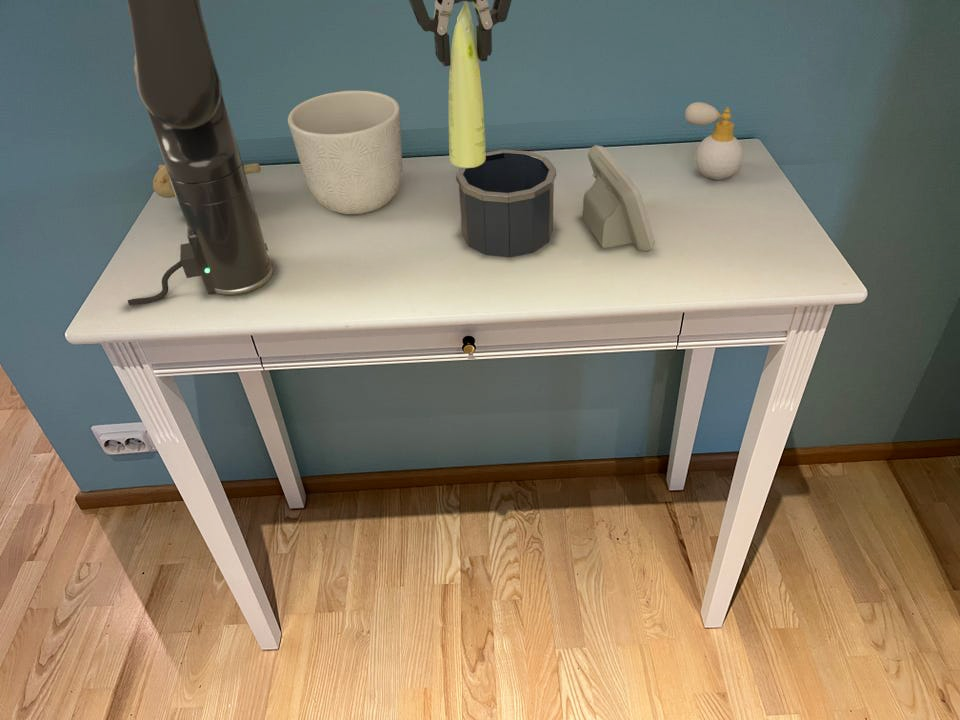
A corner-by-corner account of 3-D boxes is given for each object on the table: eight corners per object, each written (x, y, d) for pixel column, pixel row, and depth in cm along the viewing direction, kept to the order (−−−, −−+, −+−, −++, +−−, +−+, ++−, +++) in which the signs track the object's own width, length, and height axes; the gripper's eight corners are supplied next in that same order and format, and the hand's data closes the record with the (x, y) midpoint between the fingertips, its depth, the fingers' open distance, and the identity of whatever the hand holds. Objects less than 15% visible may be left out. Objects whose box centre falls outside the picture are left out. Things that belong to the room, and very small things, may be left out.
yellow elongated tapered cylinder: (496, 164, 98) (493, 8, 85) (464, 174, 96) (457, 16, 83) (472, 149, 102) (467, -3, 89) (441, 159, 100) (431, 5, 87)
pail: (476, 265, 106) (472, 203, 99) (451, 218, 116) (446, 159, 109) (567, 247, 108) (569, 185, 101) (535, 202, 118) (535, 143, 112)
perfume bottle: (745, 184, 120) (760, 113, 112) (686, 189, 119) (697, 117, 112) (730, 163, 125) (743, 94, 117) (674, 168, 125) (683, 98, 117)
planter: (384, 234, 113) (370, 140, 103) (288, 219, 118) (266, 129, 108) (425, 182, 125) (416, 94, 115) (336, 171, 130) (320, 86, 120)
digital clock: (656, 256, 105) (665, 189, 98) (593, 260, 105) (597, 193, 98) (634, 200, 117) (641, 137, 110) (578, 204, 117) (581, 141, 110)
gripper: (509, -112, 83) (509, 45, 94) (385, -101, 80) (401, 59, 92) (531, -101, 78) (528, 64, 89) (400, -89, 75) (414, 80, 86)
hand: (463, 61), depth 90 cm, fingers closed on yellow elongated tapered cylinder, 4 cm apart
